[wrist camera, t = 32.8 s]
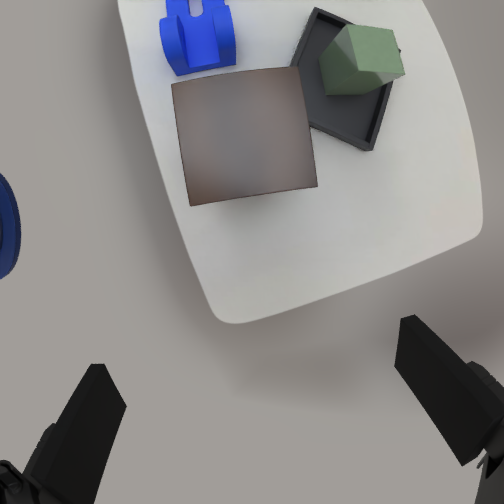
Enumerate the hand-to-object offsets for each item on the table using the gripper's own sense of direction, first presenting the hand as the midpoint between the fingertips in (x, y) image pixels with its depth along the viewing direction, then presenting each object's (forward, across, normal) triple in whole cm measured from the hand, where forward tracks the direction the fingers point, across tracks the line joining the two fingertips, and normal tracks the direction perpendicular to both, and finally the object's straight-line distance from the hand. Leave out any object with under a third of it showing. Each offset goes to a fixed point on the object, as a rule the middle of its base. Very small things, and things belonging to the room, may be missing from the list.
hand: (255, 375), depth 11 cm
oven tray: (+30, +18, +20) cm, 41 cm away
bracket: (+31, -2, +32) cm, 45 cm away
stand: (+30, +2, +10) cm, 32 cm away
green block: (+30, +18, +20) cm, 40 cm away
